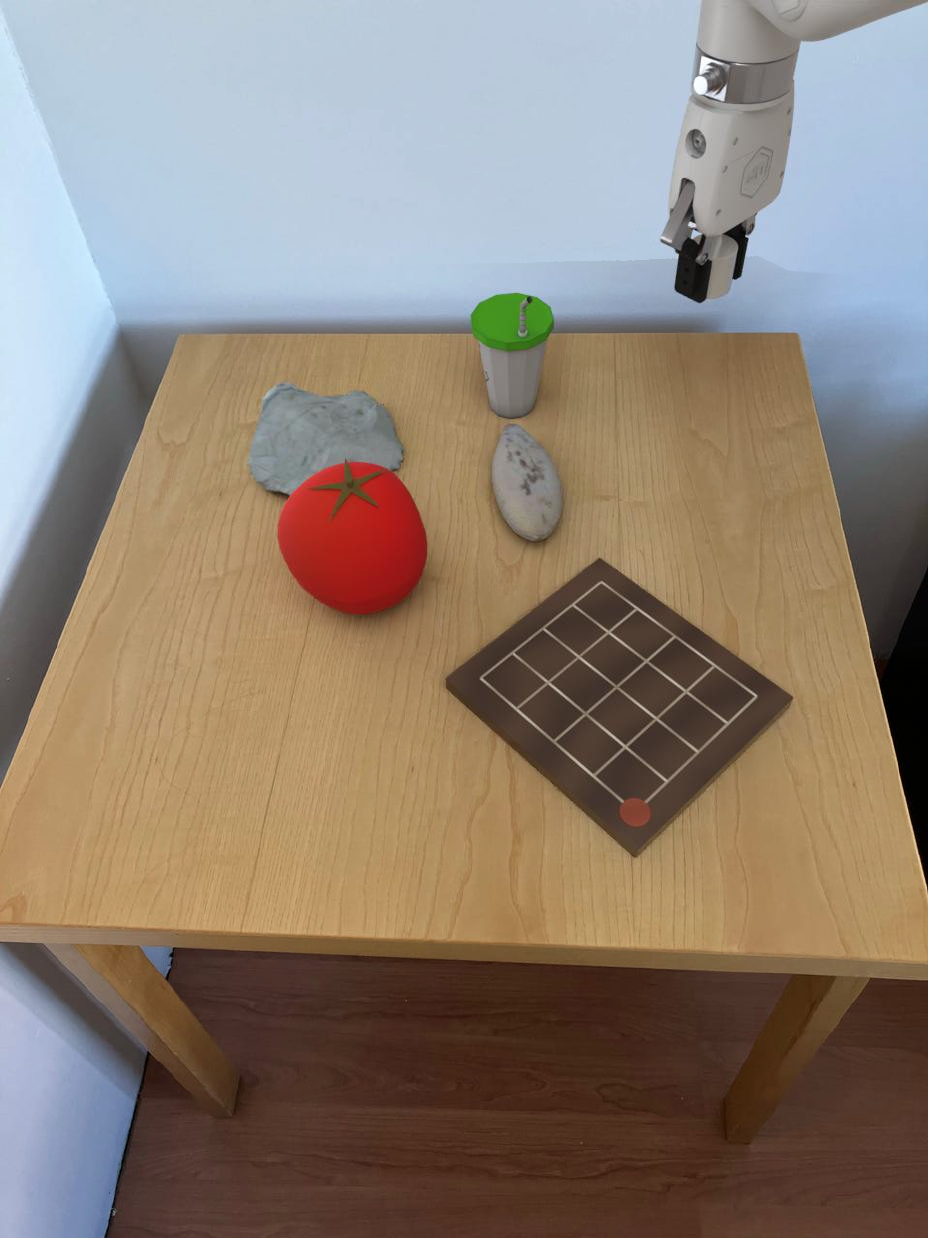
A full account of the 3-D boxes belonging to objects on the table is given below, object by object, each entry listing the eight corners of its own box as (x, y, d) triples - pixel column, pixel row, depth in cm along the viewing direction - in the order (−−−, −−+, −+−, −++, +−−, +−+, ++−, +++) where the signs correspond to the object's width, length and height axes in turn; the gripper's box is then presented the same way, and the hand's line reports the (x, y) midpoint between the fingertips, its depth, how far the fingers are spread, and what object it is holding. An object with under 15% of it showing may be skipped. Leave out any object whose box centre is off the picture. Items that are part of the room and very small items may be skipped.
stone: (308, 511, 85) (205, 414, 90) (309, 541, 89) (209, 445, 94) (434, 433, 93) (333, 347, 97) (430, 463, 96) (332, 378, 101)
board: (789, 707, 74) (794, 696, 73) (635, 859, 67) (637, 849, 66) (598, 568, 84) (599, 556, 83) (445, 688, 77) (444, 677, 76)
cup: (481, 375, 100) (477, 244, 89) (555, 382, 99) (561, 250, 87) (466, 425, 96) (460, 293, 84) (544, 433, 95) (548, 301, 83)
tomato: (454, 556, 85) (445, 451, 75) (400, 657, 79) (383, 556, 69) (331, 522, 89) (307, 416, 79) (269, 615, 82) (235, 513, 72)
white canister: (740, 285, 87) (748, 244, 84) (710, 305, 85) (717, 264, 82) (703, 267, 89) (710, 227, 86) (674, 286, 87) (679, 245, 84)
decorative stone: (539, 433, 95) (540, 406, 92) (576, 548, 85) (578, 521, 83) (478, 442, 94) (477, 415, 92) (509, 558, 85) (509, 532, 82)
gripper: (712, 123, 67) (679, 342, 82) (850, 47, 74) (798, 262, 88) (631, 92, 71) (613, 307, 85) (770, 21, 78) (732, 232, 92)
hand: (707, 282), depth 87 cm, fingers closed on white canister, 4 cm apart
